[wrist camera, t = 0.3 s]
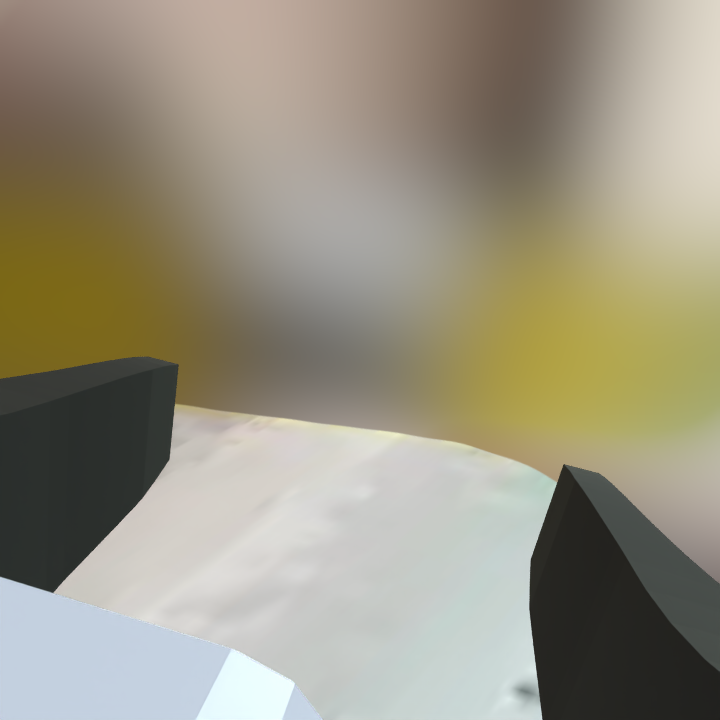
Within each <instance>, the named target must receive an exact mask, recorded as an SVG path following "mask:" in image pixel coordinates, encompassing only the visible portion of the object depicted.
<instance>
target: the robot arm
mask: <svg viewBox="0 0 720 720" xmlns="http://www.w3.org/2000/svg"><path fill="white" fill-rule="evenodd" d="M177 375H178V364H174V363H171V362H167V361H163V360H159V359H155V358H151V357H132V358H124V359H118V360H111V361H105V362H99V363H93V364H88V365H82V366H77V367H72V368H66V369H60V370H55V371H49V372H43V373H36V374H29V375H23V376H17V377H10V378H3V379H0V720H323V719H322V718H321V717H320V715H319V714H318V713H317V711H316V710H315V709H314V707H313V706H312V705H311V704H310V702H309V701H308V700H307V698H306V697H305V696H304V694H303V693H302V692H301V691H300V689H299V688H298V687H297V685H296V684H295V683H294V682H293V681H292V680H290V679H289V678H287V677H285V676H283V675H281V674H279V673H278V672H276V671H274V670H272V669H270V668H268V667H267V666H265V665H263V664H261V663H259V662H257V661H255V660H254V659H252V658H250V657H248V656H246V655H244V654H243V653H241V652H239V651H237V650H235V649H232V648H229V647H226V646H222V645H219V644H216V643H213V642H209V641H206V640H203V639H200V638H196V637H193V636H190V635H187V634H184V633H180V632H177V631H174V630H171V629H167V628H164V627H161V626H158V625H154V624H151V623H148V622H145V621H142V620H138V619H135V618H132V617H129V616H125V615H122V614H119V613H116V612H112V611H109V610H106V609H103V608H99V607H96V606H93V605H90V604H87V603H83V602H80V601H77V600H74V599H70V598H67V597H64V596H61V595H57V594H54V593H53V592H54V591H55V590H56V589H57V588H58V587H59V585H60V584H61V583H62V582H63V581H64V580H65V579H66V578H67V577H68V576H69V575H70V574H71V573H72V572H73V571H74V570H75V568H76V567H77V566H78V565H79V564H80V563H81V562H82V561H83V560H84V559H85V558H86V557H87V556H88V555H89V554H90V553H91V552H92V551H93V550H94V549H95V548H96V547H97V546H98V545H99V544H100V543H101V542H102V540H103V539H104V538H105V537H106V536H107V535H108V534H109V533H110V532H111V531H112V530H113V529H114V528H115V527H116V526H117V525H118V524H119V523H120V522H121V521H122V520H123V519H124V517H125V516H126V515H127V514H128V513H129V512H130V511H131V510H132V509H133V508H134V507H135V506H136V505H137V504H138V502H139V501H140V500H141V499H142V498H143V497H144V495H145V494H146V493H147V491H148V490H149V488H150V487H151V486H152V484H153V483H154V482H155V480H156V479H157V477H158V476H159V474H160V473H161V471H162V470H163V468H164V467H165V465H166V464H167V462H168V461H169V458H170V448H171V437H172V427H173V417H174V406H175V396H176V385H177ZM529 610H530V619H531V628H532V637H533V646H534V654H535V662H536V670H537V678H538V687H539V695H540V703H541V711H542V719H543V720H720V584H719V583H718V582H716V581H715V580H714V579H713V578H712V577H711V576H709V575H708V574H707V573H706V572H705V571H703V570H702V569H701V568H700V567H699V566H698V565H697V564H696V563H694V562H693V561H692V560H691V559H690V558H689V557H688V556H686V555H685V554H684V553H683V552H682V551H681V550H680V549H679V548H677V547H676V546H675V545H674V544H673V543H672V542H671V541H670V540H669V539H668V538H667V537H666V536H665V535H664V534H663V533H662V532H661V531H660V530H659V529H658V528H656V527H655V526H654V525H653V524H652V523H651V522H650V521H649V520H648V519H647V518H646V517H645V516H644V515H643V514H642V513H641V512H640V511H639V510H638V509H637V508H636V507H635V506H634V505H633V504H632V503H631V502H630V501H629V500H628V499H627V498H626V497H625V496H624V495H623V494H622V493H621V492H620V491H619V490H618V489H617V488H616V487H615V486H614V485H613V484H612V483H610V482H609V481H608V480H607V479H606V478H605V477H603V476H602V475H601V474H599V473H596V472H592V471H588V470H584V469H580V468H576V467H572V466H568V465H565V464H564V465H563V468H562V471H561V474H560V476H559V479H558V482H557V485H556V488H555V491H554V494H553V497H552V500H551V502H550V505H549V508H548V511H547V514H546V517H545V520H544V523H543V526H542V529H541V531H540V534H539V537H538V540H537V543H536V546H535V549H534V552H533V555H532V557H531V566H530V603H529Z"/></svg>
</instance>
